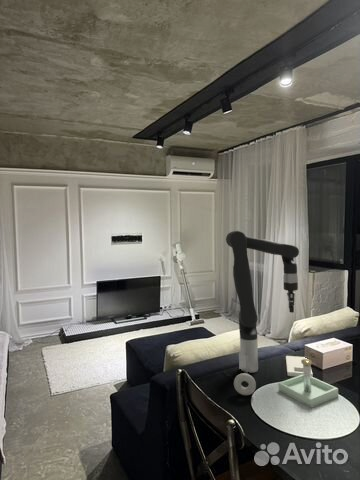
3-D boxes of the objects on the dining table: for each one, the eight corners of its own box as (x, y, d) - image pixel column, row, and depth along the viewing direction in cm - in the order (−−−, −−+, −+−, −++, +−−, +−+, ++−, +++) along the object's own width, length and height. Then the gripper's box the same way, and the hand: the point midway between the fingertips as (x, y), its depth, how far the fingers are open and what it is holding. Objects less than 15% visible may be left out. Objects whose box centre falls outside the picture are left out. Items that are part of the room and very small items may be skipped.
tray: (310, 407, 137) (310, 399, 137) (278, 390, 153) (278, 382, 153) (338, 396, 146) (338, 388, 145) (305, 380, 161) (305, 373, 161)
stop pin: (308, 394, 146) (307, 364, 145) (300, 390, 150) (299, 360, 149) (315, 391, 148) (314, 361, 148) (306, 387, 152) (305, 358, 152)
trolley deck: (312, 377, 164) (312, 374, 164) (287, 375, 167) (287, 371, 167) (308, 360, 185) (308, 357, 185) (286, 359, 188) (285, 355, 188)
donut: (233, 395, 149) (233, 374, 148) (234, 392, 152) (233, 371, 152) (256, 397, 146) (255, 375, 146) (256, 394, 150) (255, 372, 150)
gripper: (283, 279, 188) (283, 307, 188) (283, 283, 174) (284, 313, 174) (296, 279, 186) (297, 307, 186) (298, 283, 172) (299, 313, 172)
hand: (291, 310), depth 180 cm, fingers open, 8 cm apart
